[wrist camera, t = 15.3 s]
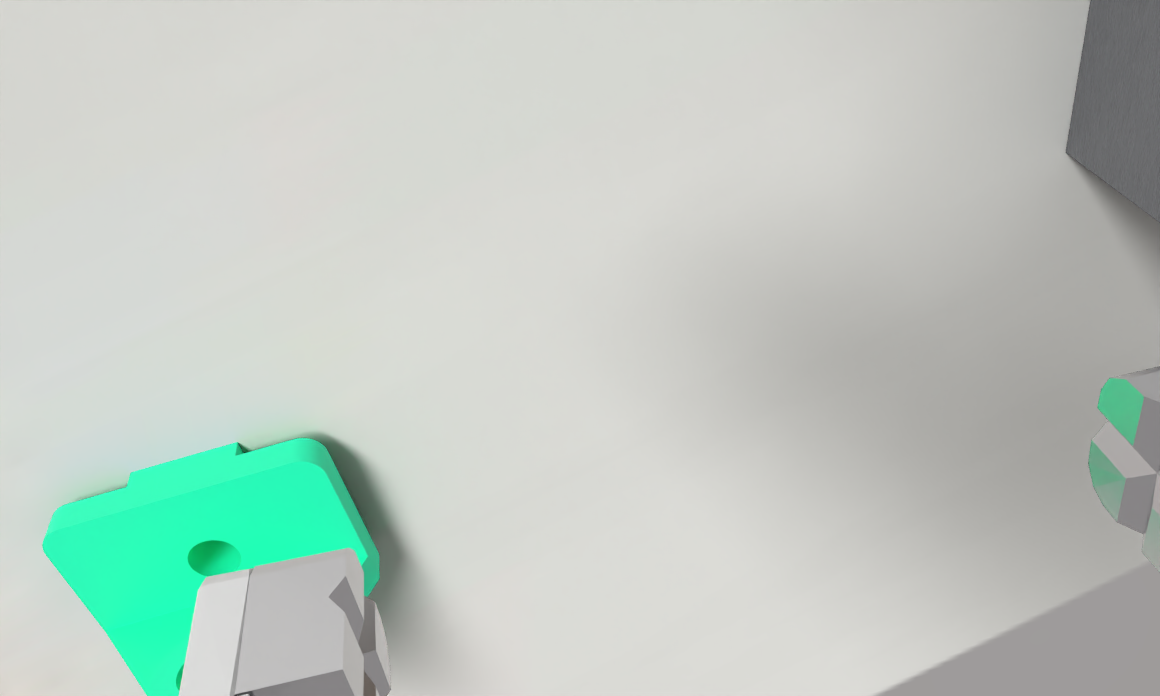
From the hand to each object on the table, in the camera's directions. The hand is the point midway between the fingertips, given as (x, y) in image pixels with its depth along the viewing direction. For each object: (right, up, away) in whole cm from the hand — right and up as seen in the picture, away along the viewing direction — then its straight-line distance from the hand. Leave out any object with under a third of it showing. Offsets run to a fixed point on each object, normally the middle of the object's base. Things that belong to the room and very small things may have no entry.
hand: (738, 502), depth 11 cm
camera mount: (-18, -6, +36) cm, 40 cm away
